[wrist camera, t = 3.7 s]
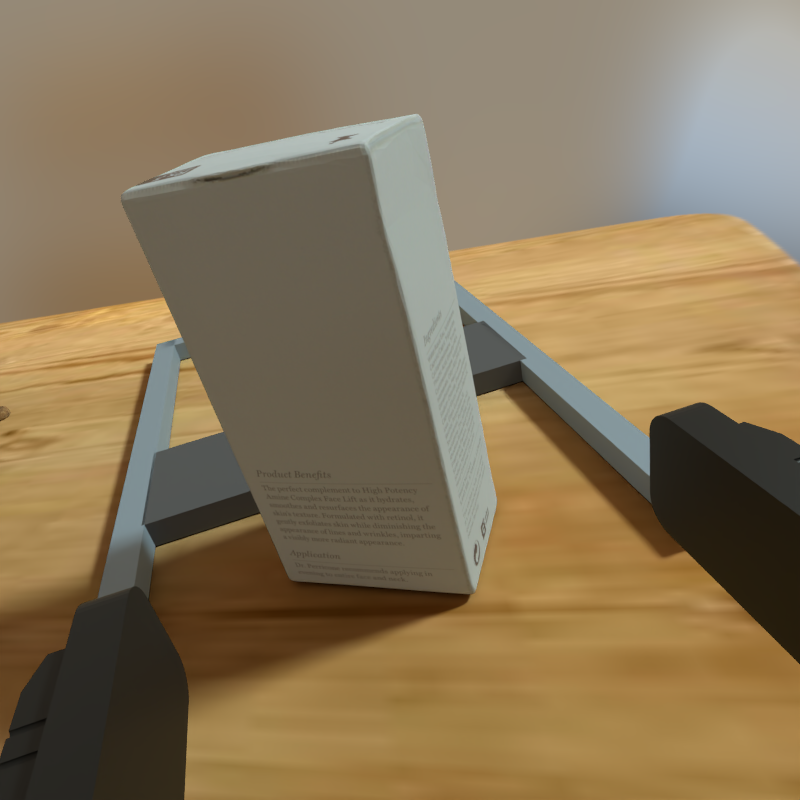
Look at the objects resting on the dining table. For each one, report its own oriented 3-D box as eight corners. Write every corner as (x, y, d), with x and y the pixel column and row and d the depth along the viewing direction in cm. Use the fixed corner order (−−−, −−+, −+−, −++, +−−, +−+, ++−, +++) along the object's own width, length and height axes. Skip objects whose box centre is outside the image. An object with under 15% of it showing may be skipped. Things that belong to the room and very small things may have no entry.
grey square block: (289, 502, 23) (282, 480, 22) (152, 547, 22) (141, 525, 22) (278, 436, 27) (271, 417, 27) (163, 472, 27) (154, 453, 26)
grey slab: (529, 378, 27) (526, 358, 27) (420, 413, 27) (415, 392, 26) (486, 339, 32) (483, 320, 31) (391, 367, 31) (387, 349, 30)
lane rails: (730, 533, 18) (732, 505, 17) (81, 770, 15) (62, 745, 15) (438, 280, 41) (435, 265, 40) (163, 359, 38) (156, 344, 38)
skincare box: (500, 502, 21) (437, 102, 15) (475, 610, 17) (379, 136, 11) (330, 497, 23) (216, 145, 17) (276, 593, 19) (108, 186, 13)
